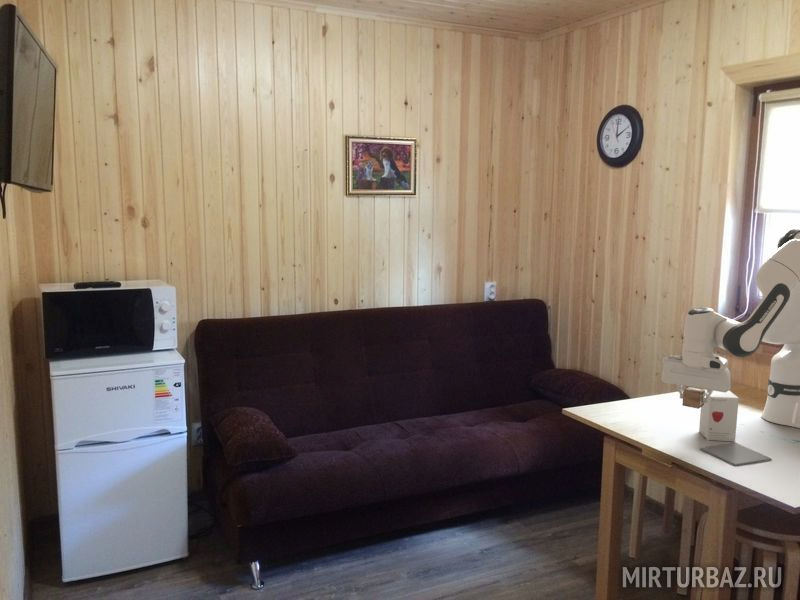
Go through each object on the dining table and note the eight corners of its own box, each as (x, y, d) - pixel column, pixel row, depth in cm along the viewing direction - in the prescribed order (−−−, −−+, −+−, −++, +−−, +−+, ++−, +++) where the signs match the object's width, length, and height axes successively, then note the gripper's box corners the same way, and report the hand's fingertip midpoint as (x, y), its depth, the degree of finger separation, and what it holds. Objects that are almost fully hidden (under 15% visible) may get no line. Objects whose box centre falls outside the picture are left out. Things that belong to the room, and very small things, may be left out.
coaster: (734, 444, 212) (735, 442, 212) (771, 460, 199) (771, 458, 199) (699, 449, 208) (700, 447, 207) (734, 466, 194) (735, 464, 194)
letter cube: (687, 401, 215) (688, 386, 214) (704, 405, 211) (705, 389, 210) (682, 405, 211) (683, 390, 210) (699, 408, 208) (700, 393, 207)
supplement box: (706, 440, 215) (709, 396, 213) (698, 431, 224) (701, 388, 222) (736, 442, 214) (739, 397, 212) (726, 432, 223) (729, 389, 221)
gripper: (660, 355, 212) (657, 396, 215) (729, 365, 200) (726, 408, 203) (665, 351, 217) (662, 392, 220) (733, 361, 205) (730, 403, 208)
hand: (693, 400), depth 211 cm, fingers closed on letter cube, 5 cm apart
